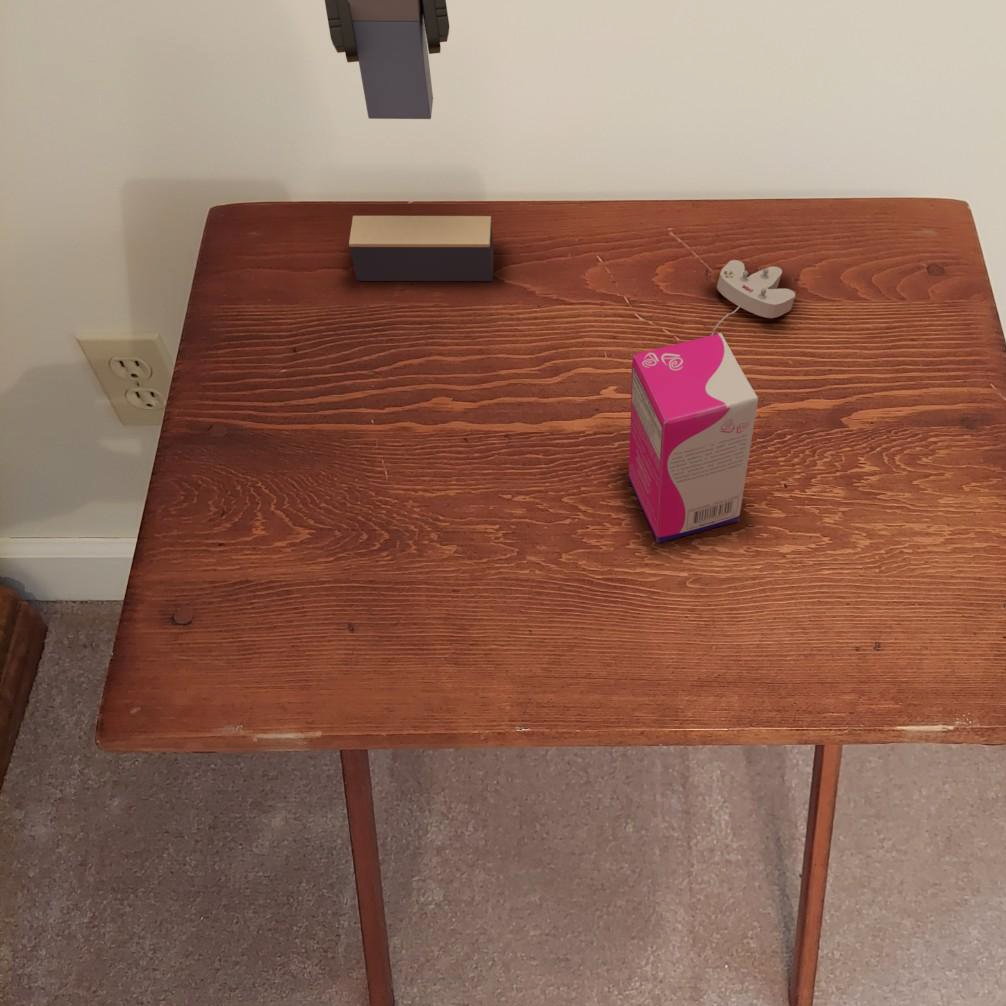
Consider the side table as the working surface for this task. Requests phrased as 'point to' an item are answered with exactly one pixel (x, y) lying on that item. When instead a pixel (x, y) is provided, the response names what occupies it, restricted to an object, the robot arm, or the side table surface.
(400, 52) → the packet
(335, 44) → the robot arm
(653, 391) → the supplement box
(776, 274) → the game controller
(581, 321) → the side table surface
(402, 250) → the stand
